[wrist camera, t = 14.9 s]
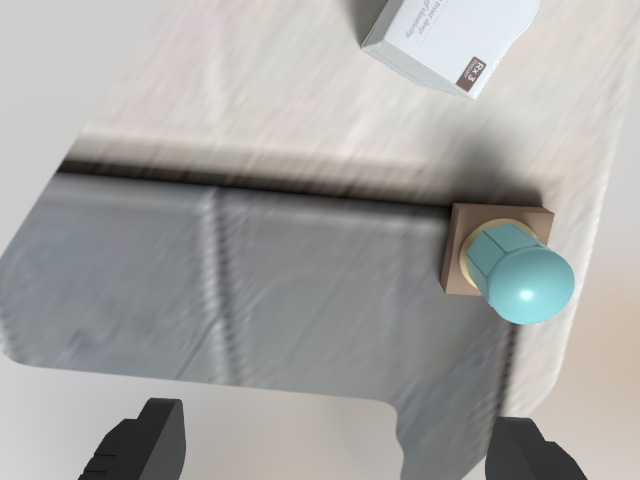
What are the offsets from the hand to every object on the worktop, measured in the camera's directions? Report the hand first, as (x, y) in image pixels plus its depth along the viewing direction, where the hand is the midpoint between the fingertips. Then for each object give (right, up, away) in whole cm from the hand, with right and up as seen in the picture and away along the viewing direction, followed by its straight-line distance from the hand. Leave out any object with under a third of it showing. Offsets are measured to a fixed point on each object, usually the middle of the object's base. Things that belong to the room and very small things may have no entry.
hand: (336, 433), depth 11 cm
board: (+15, +4, +28) cm, 32 cm away
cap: (+15, +3, +26) cm, 30 cm away
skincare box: (+7, +22, +22) cm, 32 cm away
